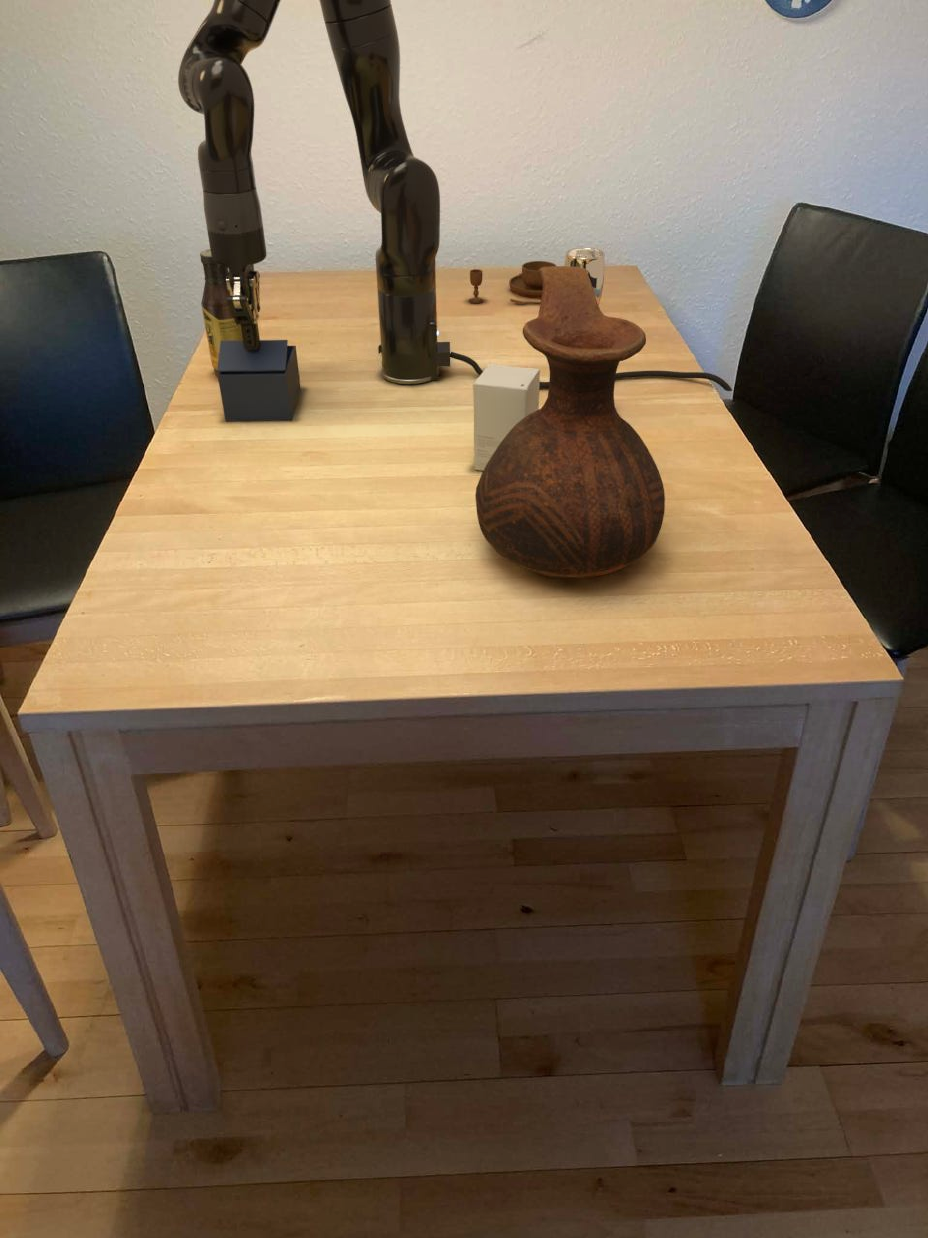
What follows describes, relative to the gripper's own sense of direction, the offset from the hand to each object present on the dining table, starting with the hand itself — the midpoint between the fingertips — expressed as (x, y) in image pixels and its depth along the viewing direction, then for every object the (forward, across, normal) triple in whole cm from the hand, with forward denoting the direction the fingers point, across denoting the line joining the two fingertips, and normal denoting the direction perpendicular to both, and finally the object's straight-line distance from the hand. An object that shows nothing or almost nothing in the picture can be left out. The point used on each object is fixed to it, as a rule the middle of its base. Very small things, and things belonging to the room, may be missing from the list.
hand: (252, 347), depth 137 cm
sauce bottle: (+10, +15, +7) cm, 20 cm away
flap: (+1, -1, 0) cm, 1 cm away
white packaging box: (+10, -18, -36) cm, 42 cm away
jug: (+10, -41, -43) cm, 60 cm away
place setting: (+10, +57, -44) cm, 72 cm away
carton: (+10, +2, 0) cm, 10 cm away
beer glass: (+10, +29, -52) cm, 61 cm away
